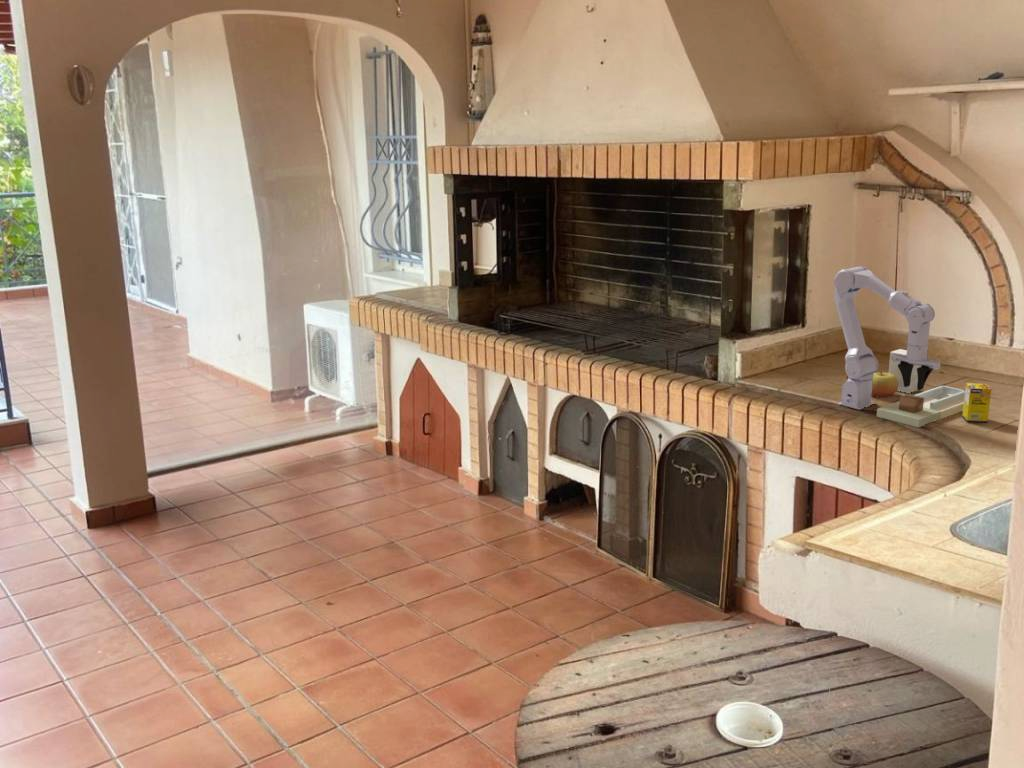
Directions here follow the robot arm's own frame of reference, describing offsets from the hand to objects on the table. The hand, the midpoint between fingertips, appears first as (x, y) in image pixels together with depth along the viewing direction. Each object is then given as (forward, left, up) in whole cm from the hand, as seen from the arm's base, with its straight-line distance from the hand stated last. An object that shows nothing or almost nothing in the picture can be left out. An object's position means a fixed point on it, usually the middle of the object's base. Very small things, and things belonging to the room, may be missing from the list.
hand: (913, 387), depth 295 cm
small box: (+25, +18, -10) cm, 32 cm away
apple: (+14, +19, -10) cm, 25 cm away
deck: (+9, 0, -9) cm, 13 cm away
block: (-1, 0, -7) cm, 7 cm away
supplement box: (+12, -14, -10) cm, 21 cm away
